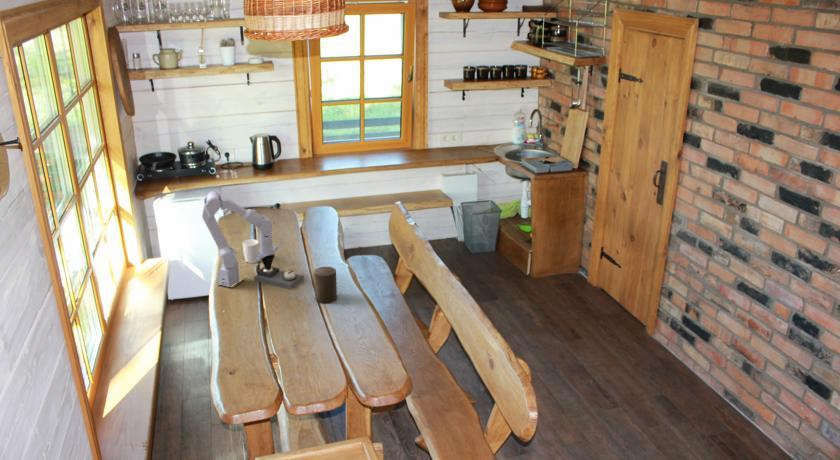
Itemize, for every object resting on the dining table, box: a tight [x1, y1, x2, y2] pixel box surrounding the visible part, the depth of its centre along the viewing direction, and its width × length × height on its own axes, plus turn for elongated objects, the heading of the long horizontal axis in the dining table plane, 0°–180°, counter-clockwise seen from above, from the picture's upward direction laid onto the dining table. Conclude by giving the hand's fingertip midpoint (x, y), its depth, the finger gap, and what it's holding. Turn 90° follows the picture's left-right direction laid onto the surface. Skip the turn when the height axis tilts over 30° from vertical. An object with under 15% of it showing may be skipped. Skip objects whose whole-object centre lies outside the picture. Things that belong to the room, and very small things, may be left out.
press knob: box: [263, 266, 273, 273], centre depth 334 cm, size 4×4×2 cm
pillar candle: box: [314, 266, 338, 304], centre depth 315 cm, size 10×10×15 cm
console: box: [254, 265, 305, 290], centre depth 332 cm, size 11×20×4 cm, turn 66°
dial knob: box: [284, 269, 296, 279], centre depth 329 cm, size 5×5×2 cm
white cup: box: [242, 238, 260, 264], centre depth 352 cm, size 8×8×10 cm
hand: (268, 269), depth 334 cm, fingers closed, pressing on press knob
